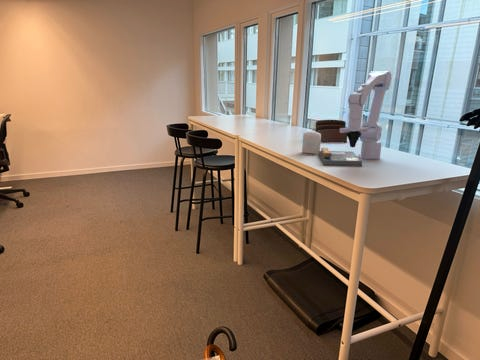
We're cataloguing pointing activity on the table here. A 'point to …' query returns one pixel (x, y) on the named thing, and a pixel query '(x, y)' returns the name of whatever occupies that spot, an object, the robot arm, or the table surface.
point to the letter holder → (331, 130)
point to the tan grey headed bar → (326, 152)
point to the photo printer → (311, 142)
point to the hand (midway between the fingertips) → (352, 147)
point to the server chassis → (341, 159)
